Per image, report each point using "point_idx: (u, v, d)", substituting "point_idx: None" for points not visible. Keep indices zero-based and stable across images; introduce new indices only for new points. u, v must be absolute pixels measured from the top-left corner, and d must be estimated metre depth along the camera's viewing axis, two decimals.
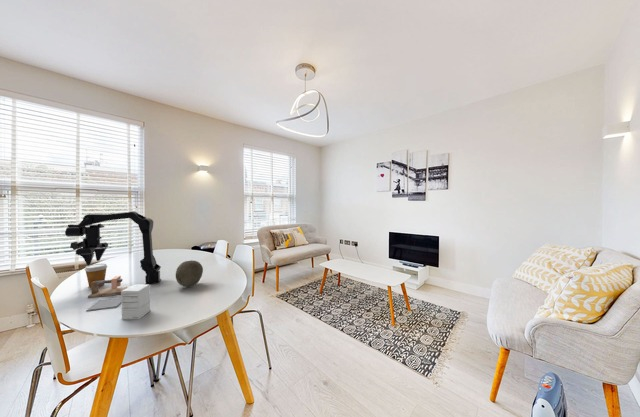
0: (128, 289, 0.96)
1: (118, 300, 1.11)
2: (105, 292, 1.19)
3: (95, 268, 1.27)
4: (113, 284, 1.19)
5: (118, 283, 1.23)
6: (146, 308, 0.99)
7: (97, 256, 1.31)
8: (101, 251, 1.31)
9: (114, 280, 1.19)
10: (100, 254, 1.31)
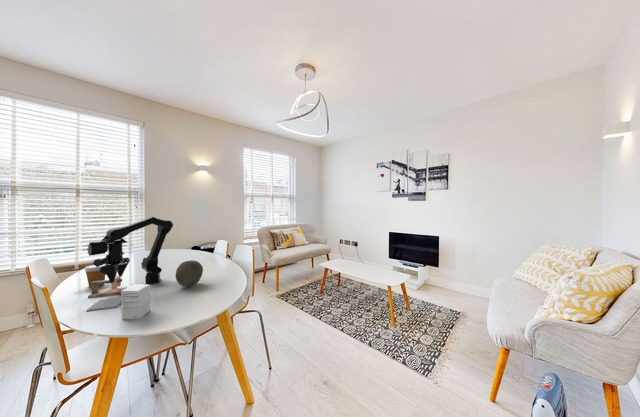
0: (128, 289, 0.96)
1: (118, 300, 1.11)
2: (105, 292, 1.19)
3: (95, 268, 1.27)
4: (113, 284, 1.19)
5: (118, 283, 1.23)
6: (145, 308, 0.99)
7: (119, 272, 1.26)
8: (123, 267, 1.27)
9: (114, 280, 1.19)
10: (122, 270, 1.26)
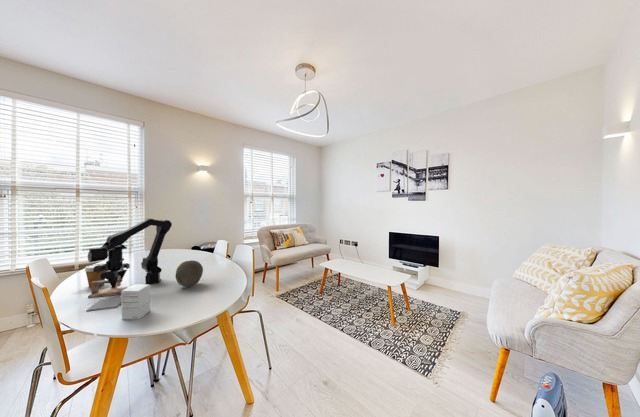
0: (128, 289, 0.96)
1: (118, 300, 1.11)
2: (105, 292, 1.19)
3: None
4: None
5: (118, 283, 1.23)
6: (146, 308, 0.99)
7: None
8: (122, 274, 1.25)
9: None
10: (121, 277, 1.25)
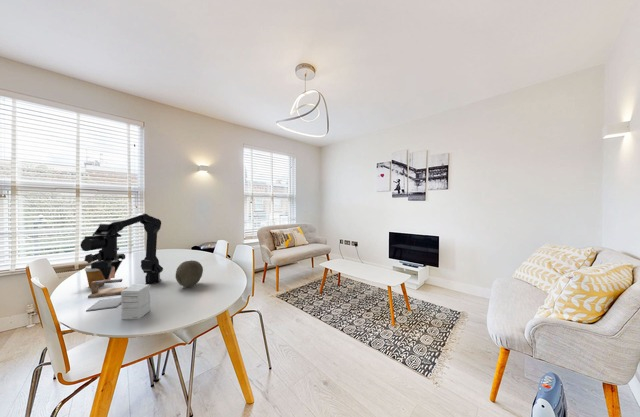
0: (128, 289, 0.96)
1: (118, 300, 1.11)
2: (105, 292, 1.19)
3: None
4: None
5: (112, 275, 1.13)
6: (146, 308, 0.99)
7: None
8: (116, 265, 1.15)
9: None
10: (115, 268, 1.15)
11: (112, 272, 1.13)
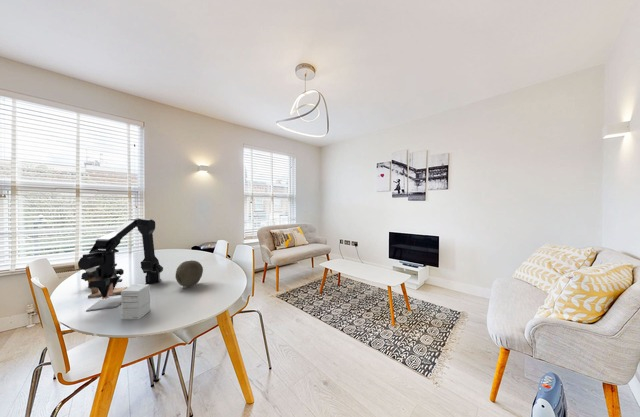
0: (128, 289, 0.96)
1: (118, 300, 1.11)
2: None
3: (95, 268, 1.27)
4: None
5: (110, 291, 1.10)
6: (146, 308, 0.99)
7: None
8: (114, 281, 1.11)
9: None
10: (113, 284, 1.11)
11: (110, 289, 1.10)
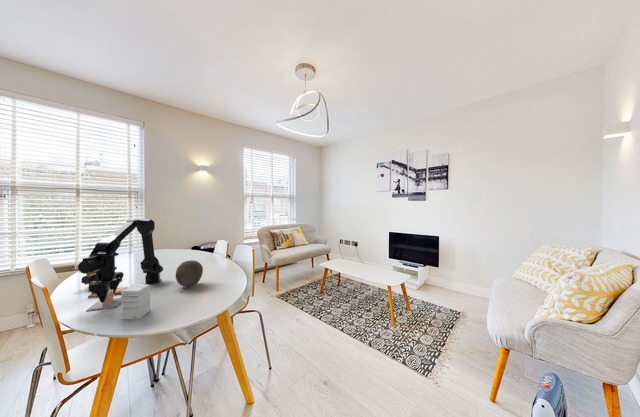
0: (128, 289, 0.96)
1: (118, 300, 1.11)
2: None
3: None
4: None
5: (110, 298, 1.10)
6: (146, 308, 0.99)
7: None
8: (116, 283, 1.13)
9: None
10: (115, 286, 1.13)
11: (110, 295, 1.10)
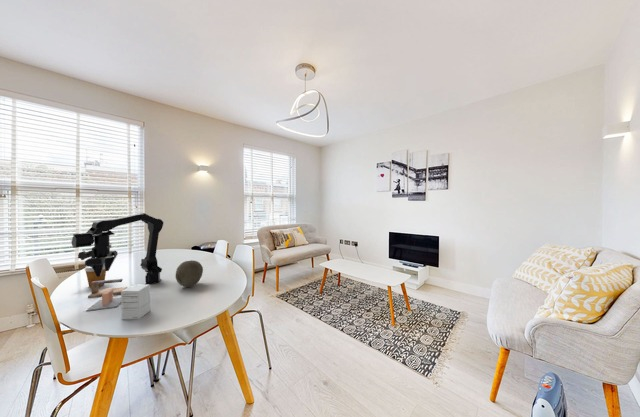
0: (128, 289, 0.96)
1: (118, 300, 1.11)
2: None
3: None
4: (104, 300, 1.05)
5: (110, 298, 1.10)
6: (146, 308, 0.99)
7: (106, 266, 1.20)
8: (110, 260, 1.21)
9: (105, 295, 1.06)
10: (109, 264, 1.21)
11: (110, 295, 1.10)
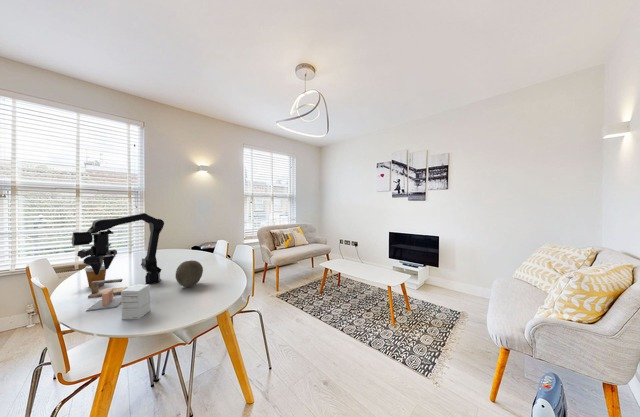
0: (128, 289, 0.96)
1: (118, 300, 1.11)
2: None
3: None
4: (104, 300, 1.05)
5: (110, 298, 1.10)
6: (146, 308, 0.99)
7: (106, 264, 1.22)
8: (110, 259, 1.23)
9: (105, 295, 1.06)
10: (109, 262, 1.22)
11: (110, 295, 1.10)
